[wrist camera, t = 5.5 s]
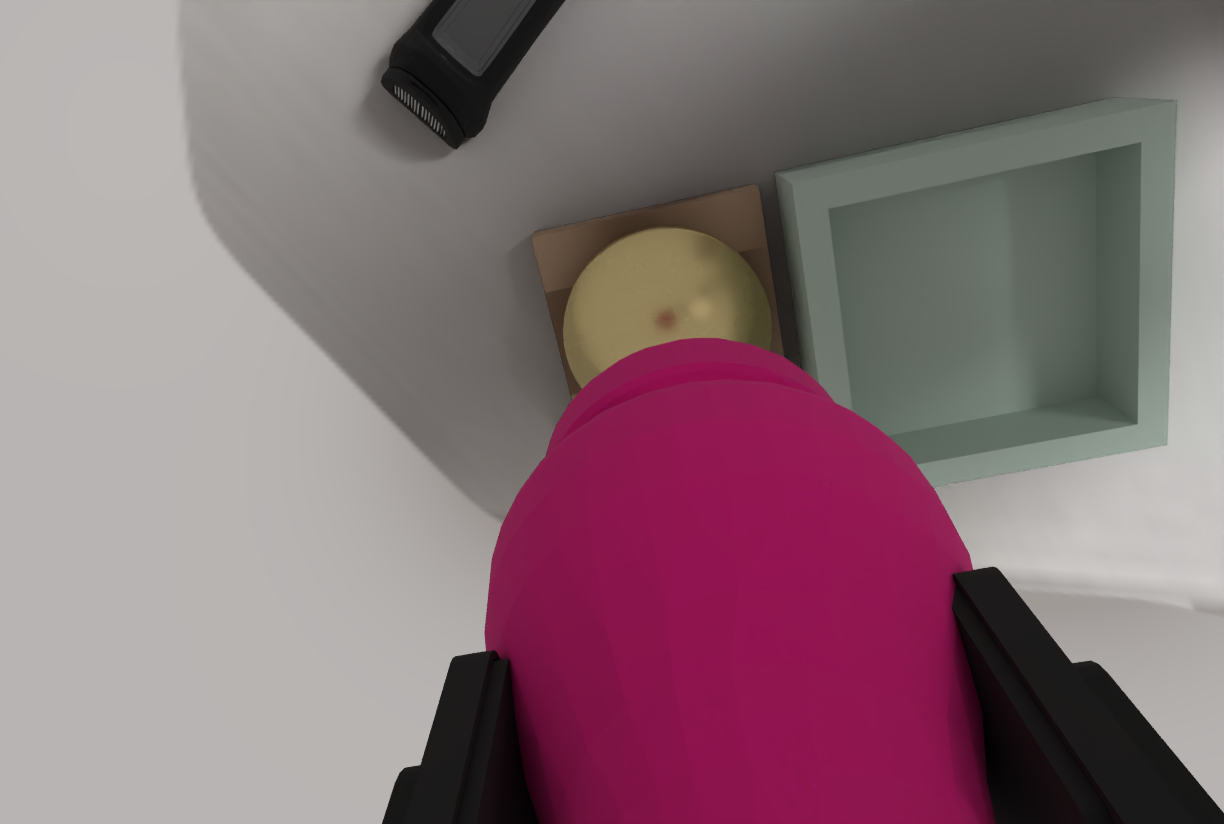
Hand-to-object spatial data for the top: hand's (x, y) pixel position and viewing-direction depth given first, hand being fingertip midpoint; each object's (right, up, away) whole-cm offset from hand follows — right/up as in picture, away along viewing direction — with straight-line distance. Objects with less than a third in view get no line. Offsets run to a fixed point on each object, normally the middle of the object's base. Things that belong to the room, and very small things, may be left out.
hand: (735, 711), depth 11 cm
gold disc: (0, +8, +21) cm, 22 cm away
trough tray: (+11, +8, +20) cm, 24 cm away
